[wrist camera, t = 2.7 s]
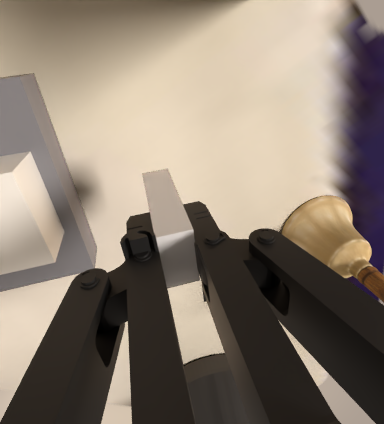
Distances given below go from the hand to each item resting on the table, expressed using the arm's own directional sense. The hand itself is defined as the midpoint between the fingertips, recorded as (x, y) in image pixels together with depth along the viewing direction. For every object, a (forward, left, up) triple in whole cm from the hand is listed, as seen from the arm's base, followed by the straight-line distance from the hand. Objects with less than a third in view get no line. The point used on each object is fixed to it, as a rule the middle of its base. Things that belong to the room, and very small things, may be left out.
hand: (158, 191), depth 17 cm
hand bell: (-11, -16, -6) cm, 20 cm away
